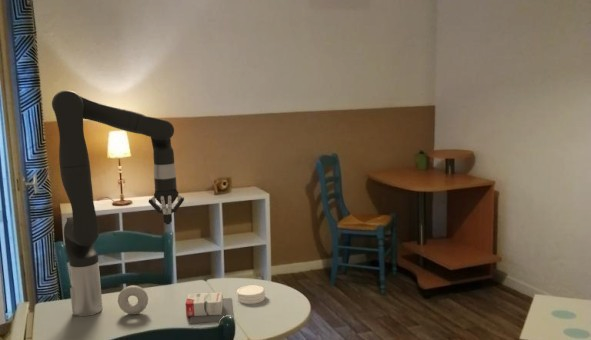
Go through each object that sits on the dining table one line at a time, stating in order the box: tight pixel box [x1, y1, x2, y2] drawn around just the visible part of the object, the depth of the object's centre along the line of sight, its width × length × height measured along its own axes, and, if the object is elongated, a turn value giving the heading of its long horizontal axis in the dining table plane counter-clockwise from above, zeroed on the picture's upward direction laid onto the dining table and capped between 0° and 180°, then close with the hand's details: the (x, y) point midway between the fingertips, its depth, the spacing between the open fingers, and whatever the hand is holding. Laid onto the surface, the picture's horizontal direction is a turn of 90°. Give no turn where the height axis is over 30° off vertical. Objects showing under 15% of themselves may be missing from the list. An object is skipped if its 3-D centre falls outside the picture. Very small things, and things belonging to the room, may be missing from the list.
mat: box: [189, 297, 234, 325], centre depth 191 cm, size 14×18×1 cm
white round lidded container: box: [236, 284, 266, 305], centre depth 201 cm, size 10×10×4 cm
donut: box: [117, 284, 149, 315], centre depth 190 cm, size 10×4×10 cm, turn 94°
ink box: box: [185, 291, 224, 318], centre depth 190 cm, size 9×5×12 cm
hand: (168, 223), depth 202 cm, fingers closed
